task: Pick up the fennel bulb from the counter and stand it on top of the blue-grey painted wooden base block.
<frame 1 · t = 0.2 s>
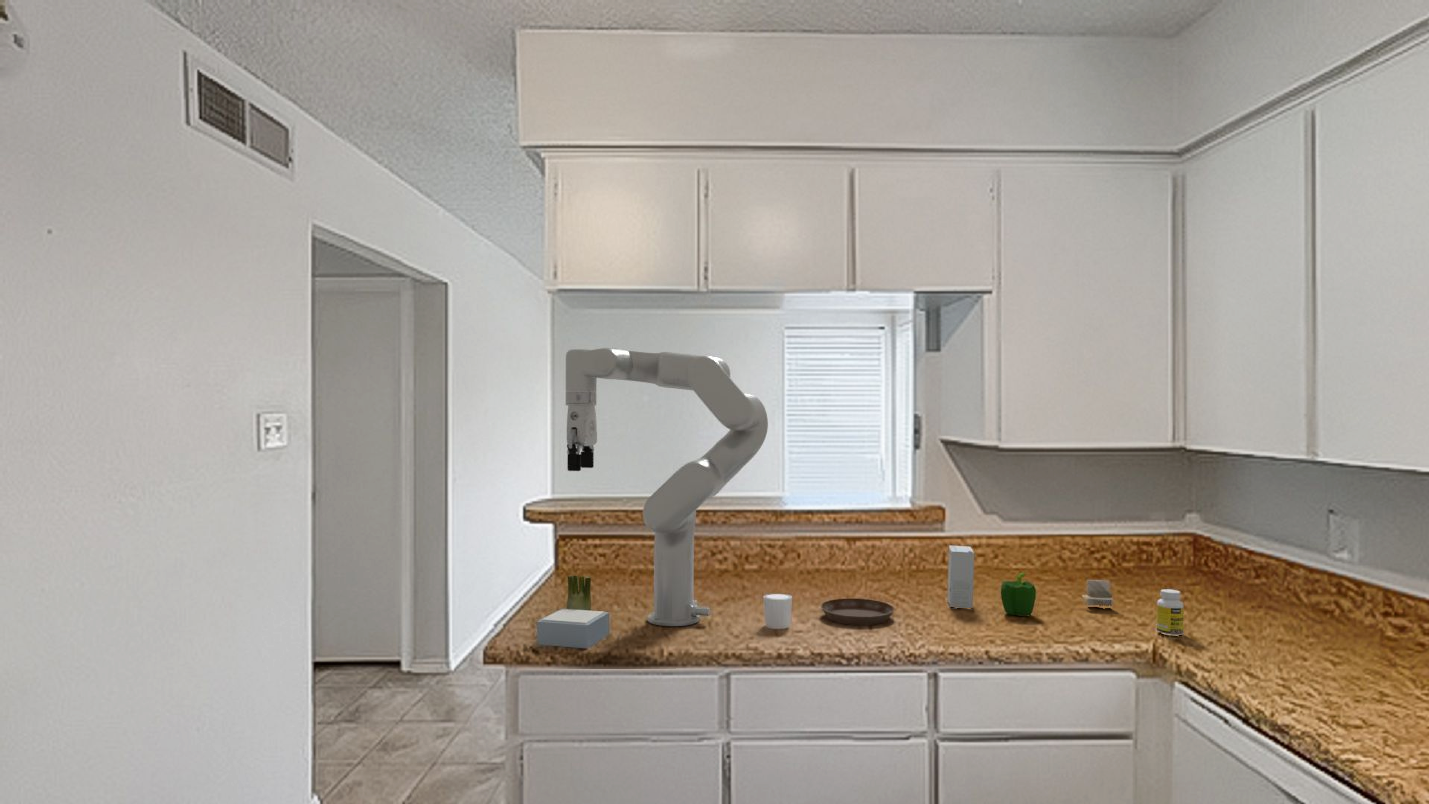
hand: (580, 469, 225), 36 cm above the countertop, tool pointing down, fingers open, 9 cm apart
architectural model: (1099, 611, 232), on the countertop
bell pepper: (1019, 615, 225), on the countertop
supplement bottle: (1169, 635, 207), on the countertop
skincare box: (960, 606, 235), on the countertop
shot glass: (777, 626, 214), on the countertop
base block: (573, 639, 202), on the countertop
fennel bulb: (577, 627, 214), on the countertop
plant saucer: (857, 619, 222), on the countertop
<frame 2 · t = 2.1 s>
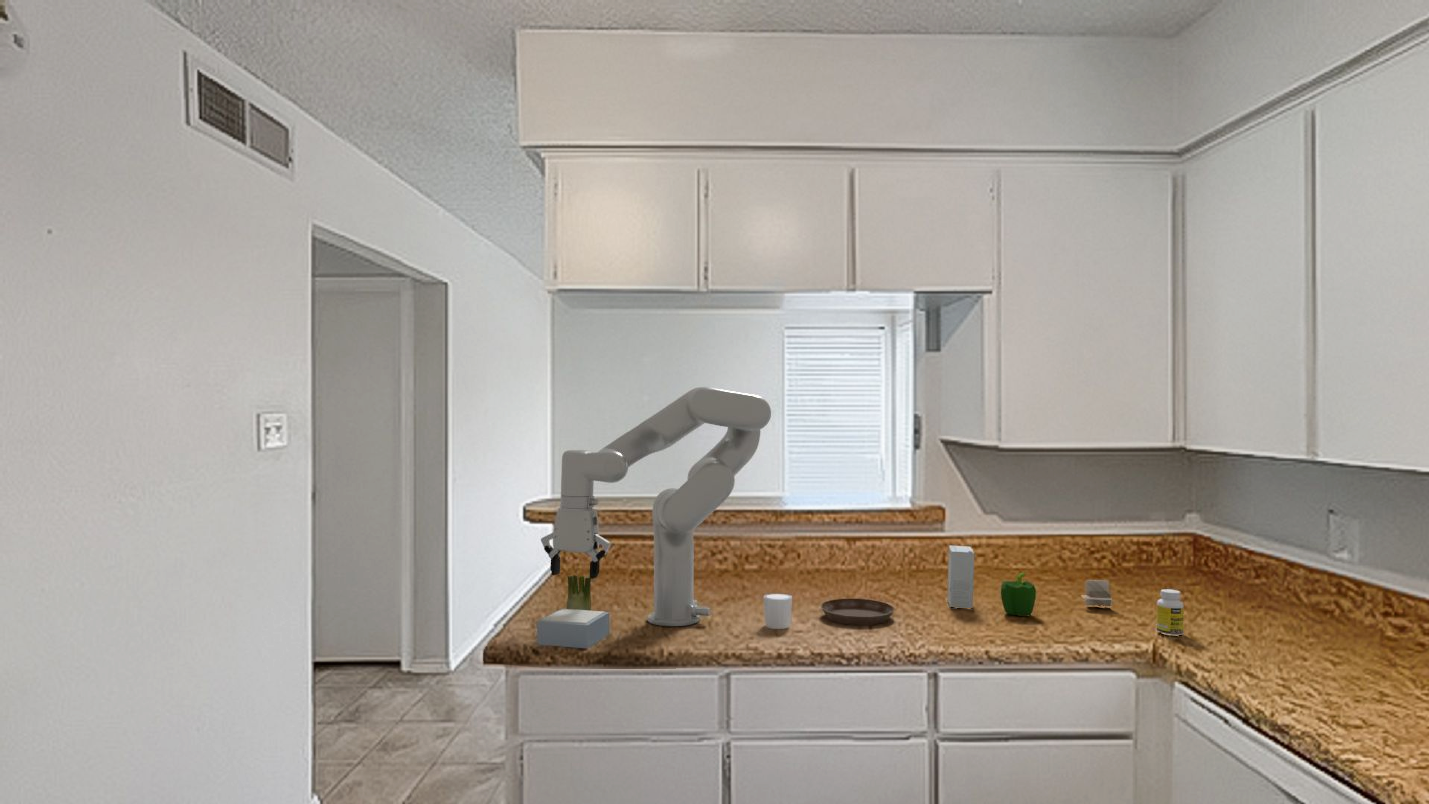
hand: (574, 576, 214), 12 cm above the countertop, tool pointing down, fingers open, 9 cm apart
nothing on the countertop moved.
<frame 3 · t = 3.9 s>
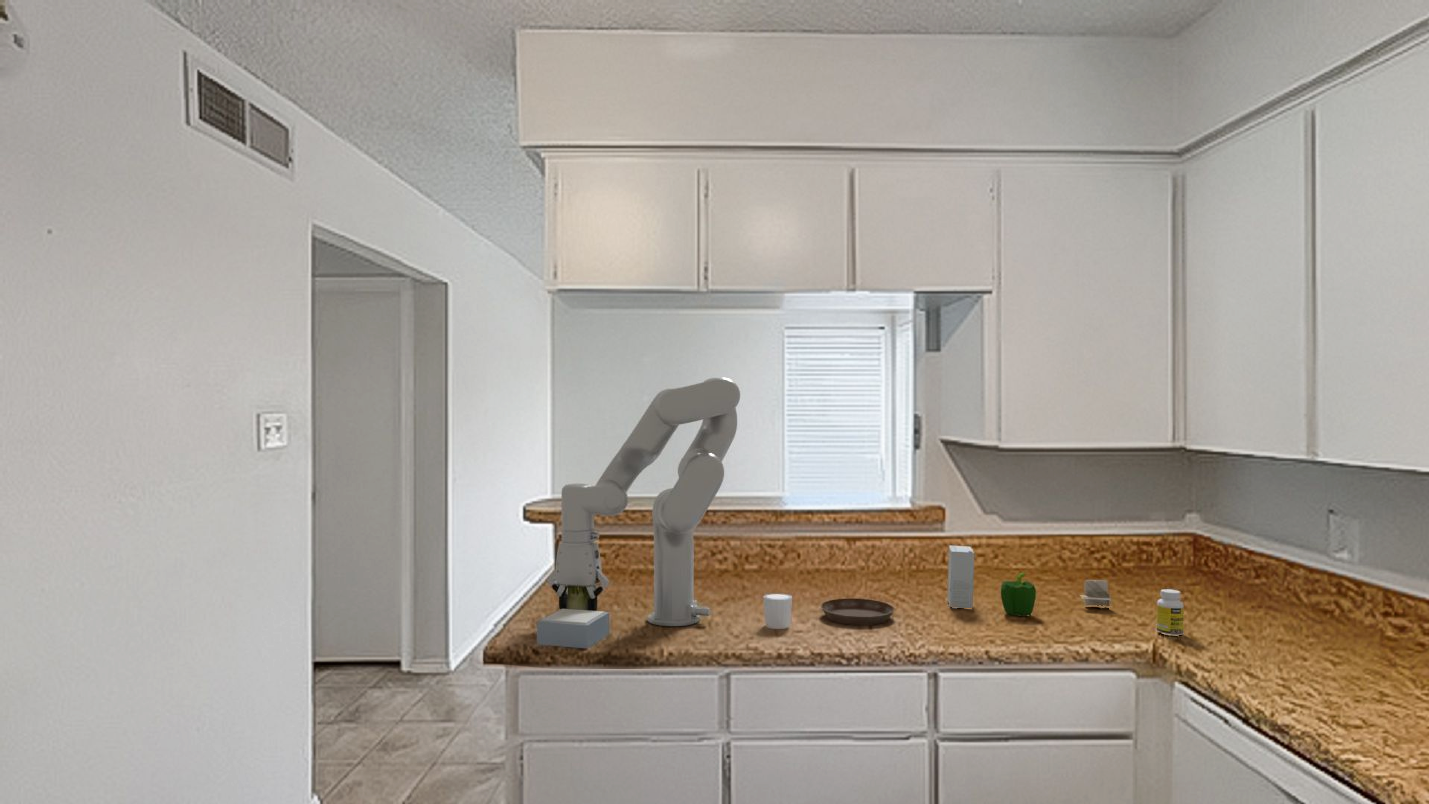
hand: (578, 612, 214), 3 cm above the countertop, tool pointing down, fingers closed on fennel bulb, 6 cm apart
fennel bulb: (577, 627, 214), on the countertop, touching gripper
everything else where it was.
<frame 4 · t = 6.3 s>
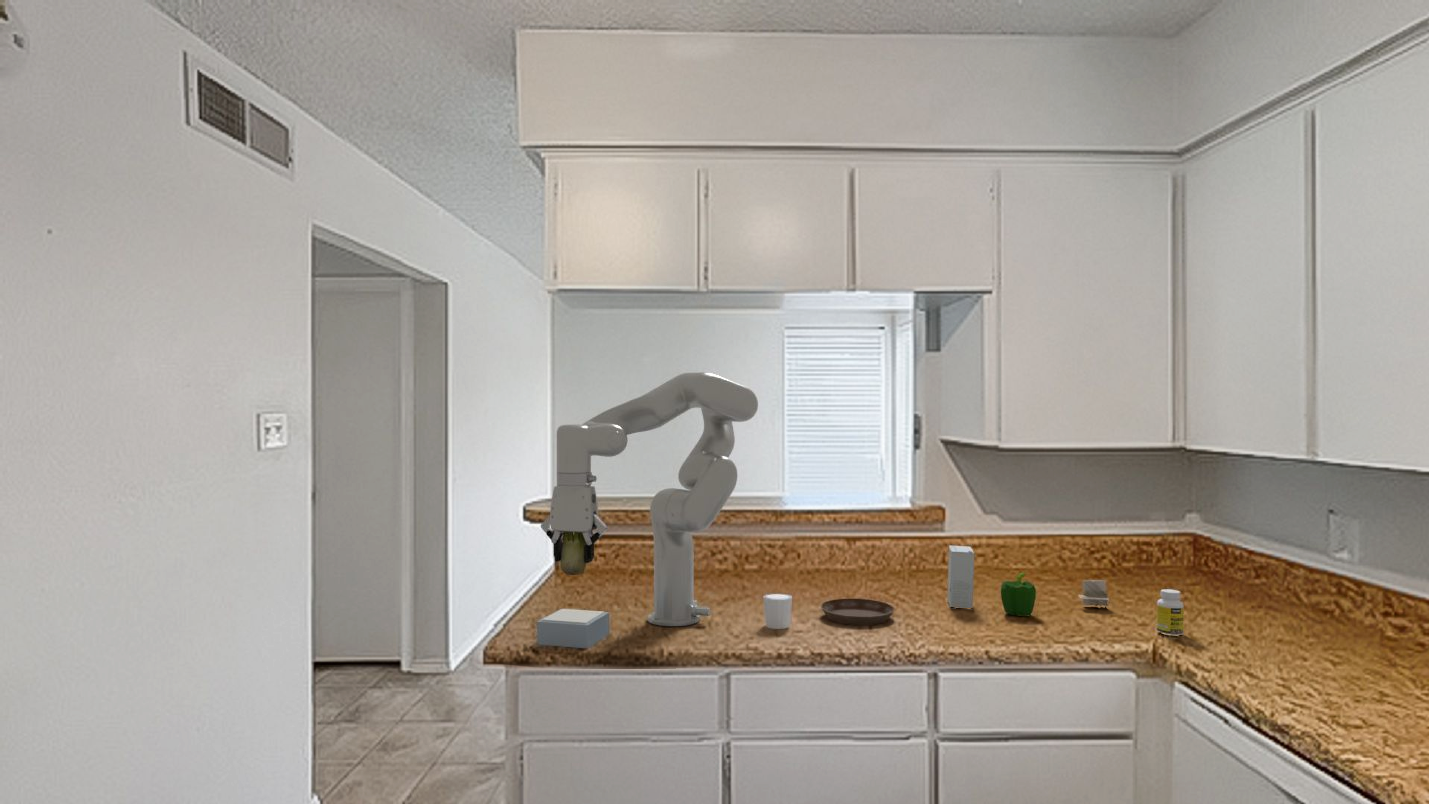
hand: (573, 560, 202), 17 cm above the countertop, tool pointing down, fingers closed on fennel bulb, 6 cm apart
fennel bulb: (573, 575, 202), point 14 cm above the countertop, touching gripper
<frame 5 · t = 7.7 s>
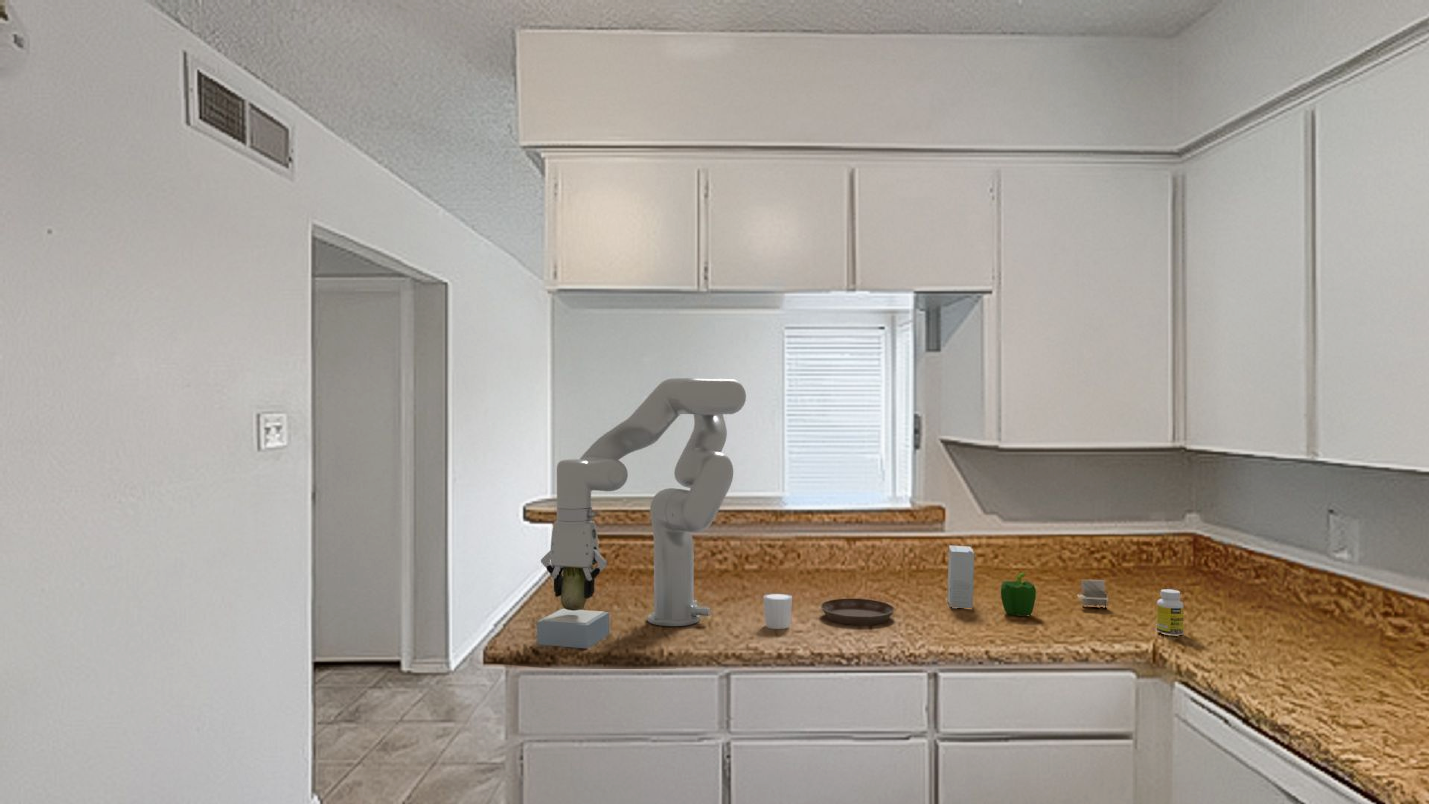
hand: (574, 595, 202), 10 cm above the countertop, tool pointing down, fingers closed on fennel bulb, 6 cm apart
fennel bulb: (573, 611, 202), point 6 cm above the countertop, touching gripper
when the fingers open (9 cm above the countertop, at t = 8.6 s): fennel bulb drops 1 cm, resting on base block.
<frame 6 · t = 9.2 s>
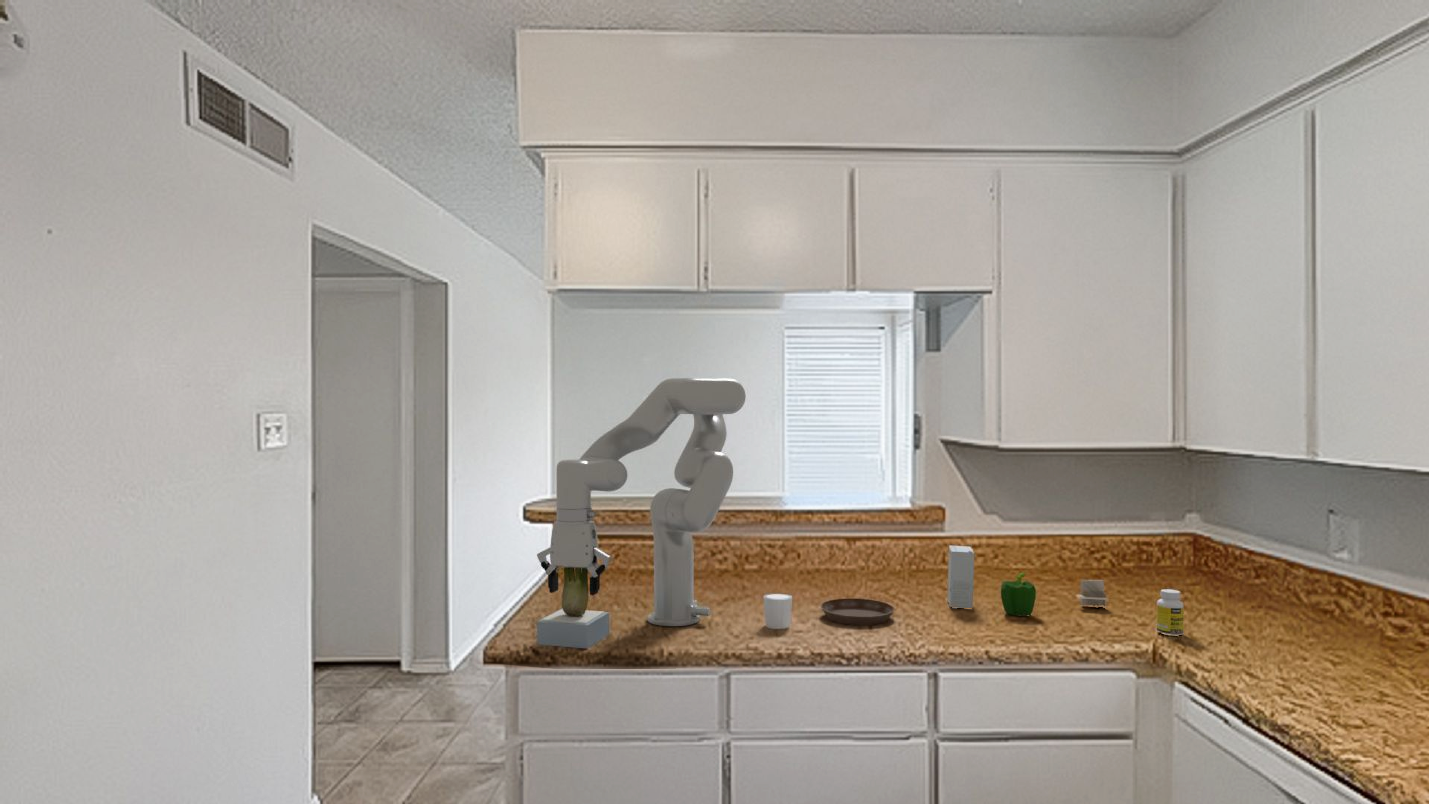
hand: (573, 592, 202), 10 cm above the countertop, tool pointing down, fingers open, 9 cm apart
fennel bulb: (574, 616, 202), point 5 cm above the countertop, touching base block
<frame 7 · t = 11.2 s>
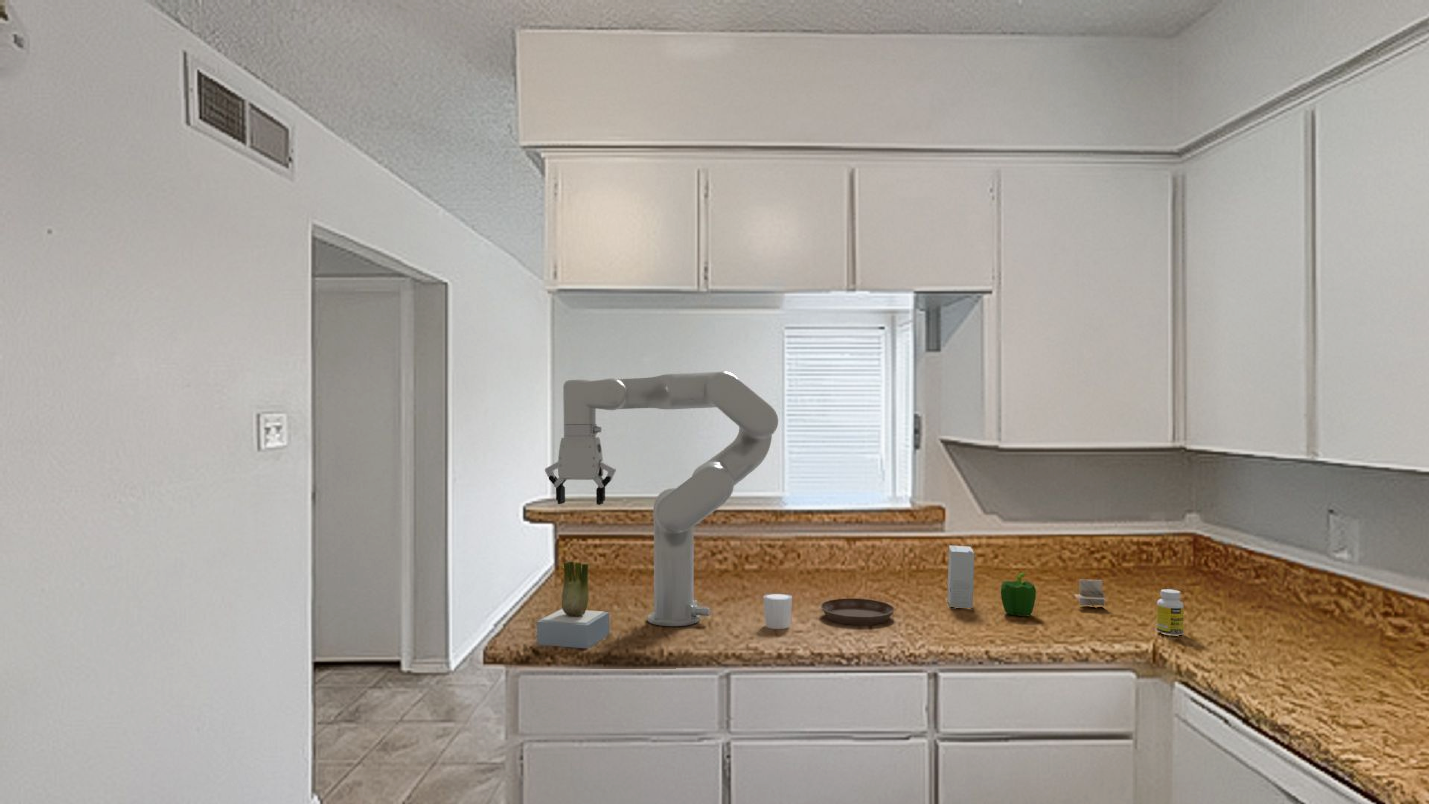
hand: (580, 503, 217), 28 cm above the countertop, tool pointing down, fingers open, 9 cm apart
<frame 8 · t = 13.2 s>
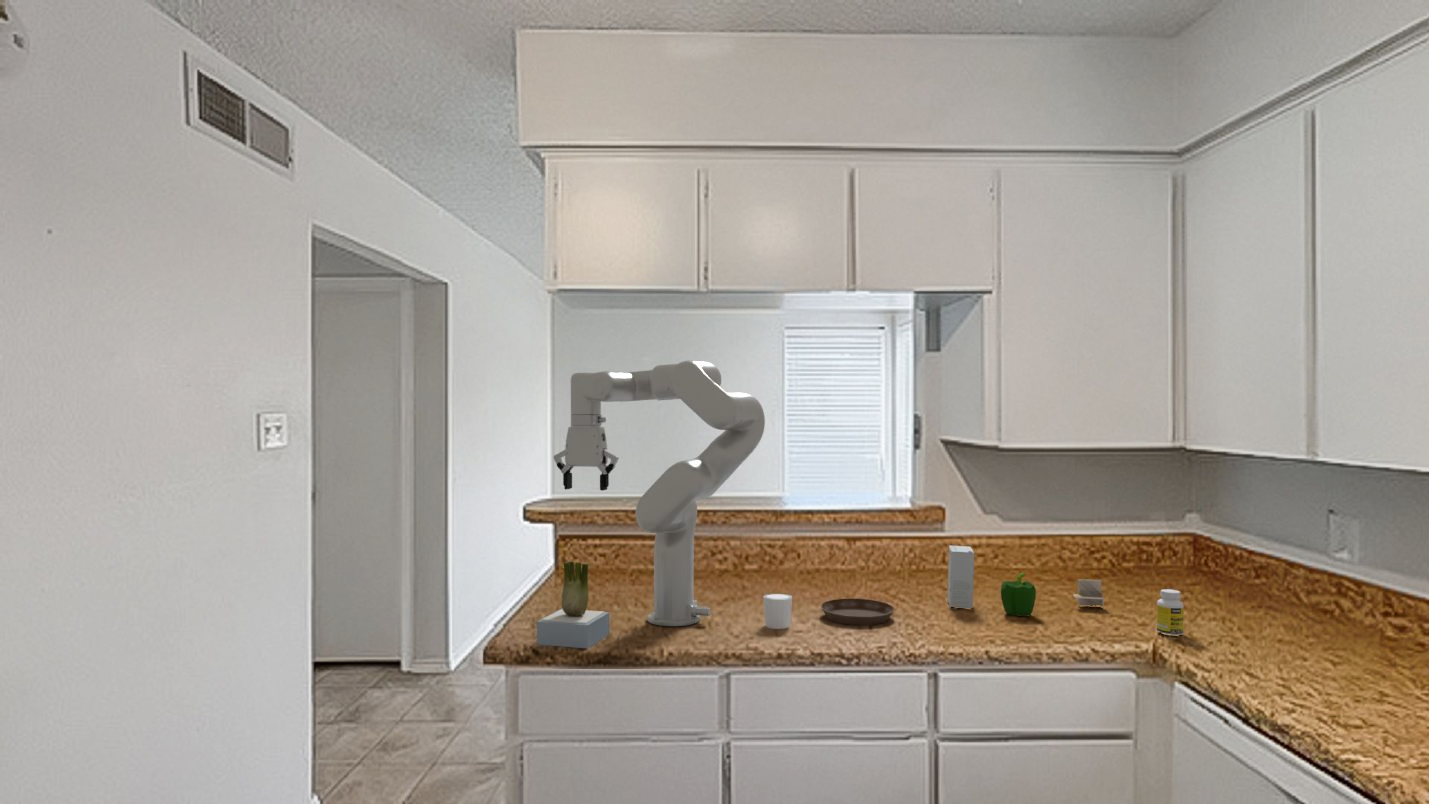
hand: (585, 489, 231), 30 cm above the countertop, tool pointing down, fingers open, 9 cm apart
at the end: fennel bulb inside the target area on the base block (0.1 cm from its centre), point 5.1 cm above the base block's base; fennel bulb tilted 0°; the gripper is holding nothing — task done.
